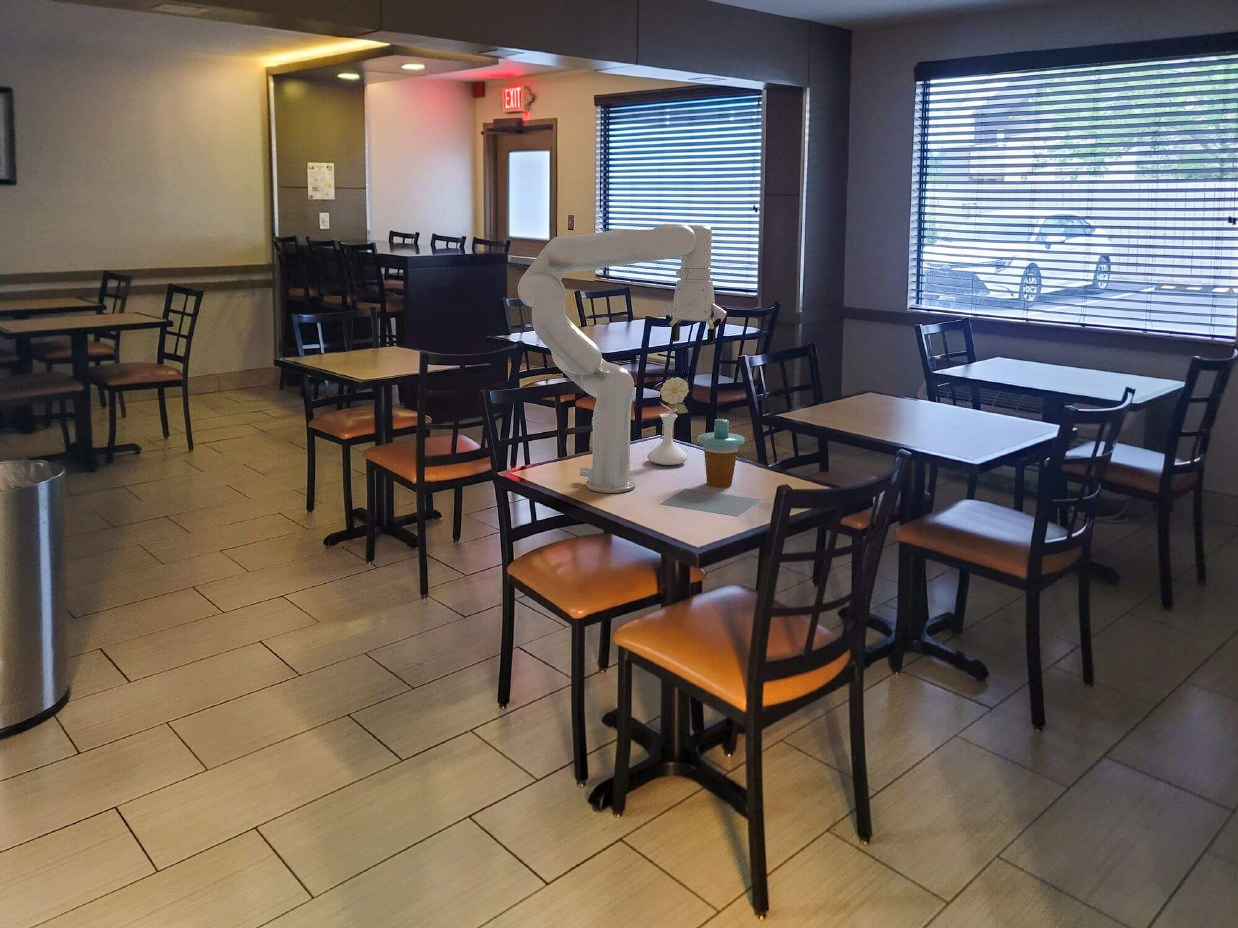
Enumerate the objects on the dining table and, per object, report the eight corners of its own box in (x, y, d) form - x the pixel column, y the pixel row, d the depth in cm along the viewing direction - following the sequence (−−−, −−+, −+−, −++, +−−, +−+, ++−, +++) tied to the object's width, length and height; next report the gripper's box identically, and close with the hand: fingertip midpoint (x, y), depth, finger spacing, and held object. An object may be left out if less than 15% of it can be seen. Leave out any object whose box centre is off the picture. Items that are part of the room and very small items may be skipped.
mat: (659, 505, 240) (659, 503, 240) (685, 490, 254) (685, 488, 253) (737, 518, 231) (737, 516, 231) (760, 501, 245) (760, 499, 245)
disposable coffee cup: (735, 492, 252) (738, 446, 250) (698, 489, 254) (700, 444, 251) (739, 482, 262) (741, 438, 259) (703, 480, 263) (704, 436, 260)
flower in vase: (638, 462, 281) (640, 374, 275) (667, 456, 288) (669, 371, 282) (671, 471, 272) (674, 381, 265) (699, 465, 279) (703, 377, 273)
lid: (690, 443, 252) (691, 422, 251) (707, 434, 263) (708, 413, 261) (735, 448, 247) (736, 427, 246) (750, 439, 258) (751, 418, 256)
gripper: (658, 274, 252) (656, 341, 256) (721, 277, 245) (719, 346, 249) (670, 273, 259) (668, 338, 263) (732, 276, 251) (729, 343, 255)
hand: (693, 342), depth 256 cm, fingers open, 9 cm apart
